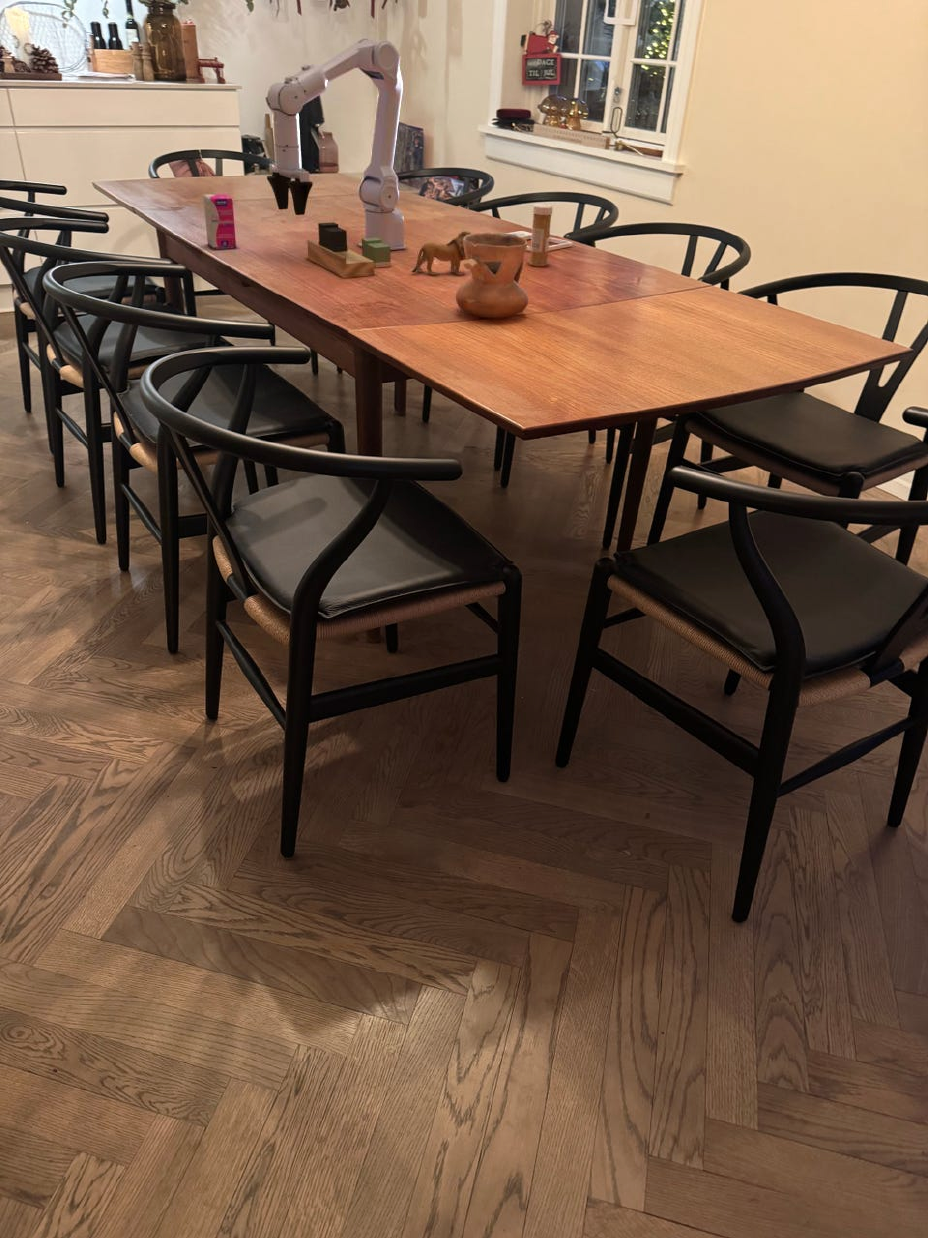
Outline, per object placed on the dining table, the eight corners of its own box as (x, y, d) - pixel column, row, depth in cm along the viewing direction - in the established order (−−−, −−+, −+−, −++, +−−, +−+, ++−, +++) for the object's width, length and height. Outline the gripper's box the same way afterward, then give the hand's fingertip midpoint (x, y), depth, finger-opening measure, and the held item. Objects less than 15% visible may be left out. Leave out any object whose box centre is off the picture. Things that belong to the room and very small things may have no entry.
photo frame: (521, 229, 244) (573, 241, 234) (521, 234, 245) (572, 245, 235) (485, 236, 235) (538, 248, 225) (485, 240, 236) (537, 252, 226)
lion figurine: (468, 269, 208) (470, 228, 203) (476, 274, 204) (478, 233, 199) (408, 271, 204) (408, 230, 199) (415, 277, 200) (416, 234, 195)
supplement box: (213, 249, 214) (208, 198, 207) (207, 244, 218) (201, 193, 212) (237, 248, 216) (232, 197, 210) (230, 243, 220) (225, 193, 214)
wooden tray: (337, 256, 214) (336, 237, 211) (374, 275, 200) (374, 255, 198) (308, 258, 210) (307, 239, 208) (344, 278, 197) (343, 258, 194)
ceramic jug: (493, 330, 168) (498, 250, 160) (436, 314, 176) (438, 237, 168) (547, 312, 180) (554, 238, 172) (491, 298, 187) (495, 226, 179)
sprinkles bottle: (551, 265, 215) (556, 205, 207) (536, 267, 213) (541, 206, 205) (539, 261, 218) (545, 202, 211) (524, 263, 216) (529, 203, 208)
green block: (376, 259, 213) (376, 237, 210) (390, 266, 208) (390, 243, 205) (361, 260, 211) (361, 238, 208) (375, 267, 206) (375, 244, 203)
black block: (334, 244, 211) (333, 221, 208) (347, 251, 206) (346, 227, 203) (318, 245, 209) (317, 222, 206) (331, 252, 204) (330, 229, 201)
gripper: (255, 142, 200) (260, 207, 207) (288, 150, 191) (292, 218, 198) (283, 141, 204) (287, 205, 211) (316, 149, 194) (319, 215, 202)
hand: (291, 211), depth 205 cm, fingers open, 7 cm apart
